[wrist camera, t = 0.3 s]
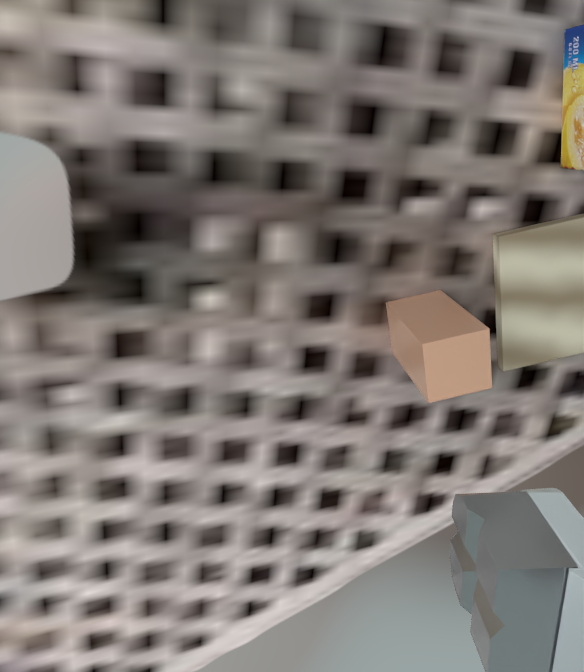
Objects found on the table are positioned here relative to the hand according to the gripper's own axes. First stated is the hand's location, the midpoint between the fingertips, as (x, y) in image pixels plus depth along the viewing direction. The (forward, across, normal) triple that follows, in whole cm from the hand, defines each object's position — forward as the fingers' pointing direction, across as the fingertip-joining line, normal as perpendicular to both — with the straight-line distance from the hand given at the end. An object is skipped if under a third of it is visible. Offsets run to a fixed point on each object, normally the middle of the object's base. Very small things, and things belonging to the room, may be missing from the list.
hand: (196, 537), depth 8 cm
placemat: (+43, -28, +8) cm, 52 cm away
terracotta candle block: (+41, -13, +11) cm, 44 cm away
